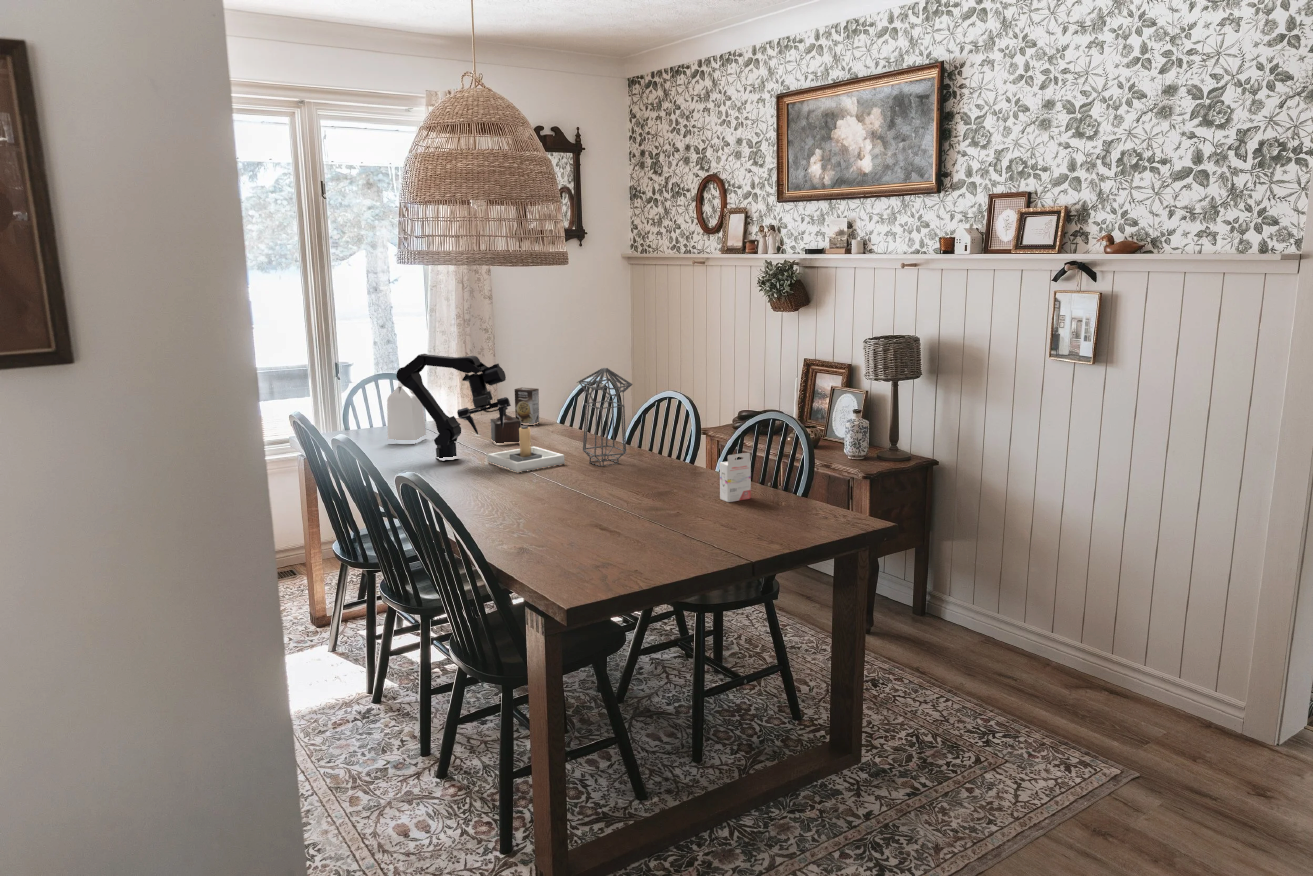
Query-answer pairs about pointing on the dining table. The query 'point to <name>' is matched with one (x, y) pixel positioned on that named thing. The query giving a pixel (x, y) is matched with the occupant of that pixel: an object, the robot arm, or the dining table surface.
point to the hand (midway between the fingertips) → (490, 430)
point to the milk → (405, 415)
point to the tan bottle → (525, 441)
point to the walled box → (526, 459)
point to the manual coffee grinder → (504, 428)
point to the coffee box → (527, 405)
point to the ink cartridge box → (735, 478)
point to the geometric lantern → (628, 384)
